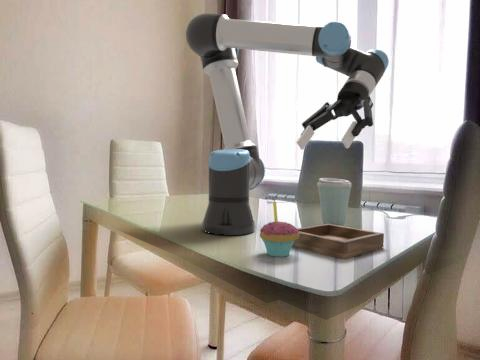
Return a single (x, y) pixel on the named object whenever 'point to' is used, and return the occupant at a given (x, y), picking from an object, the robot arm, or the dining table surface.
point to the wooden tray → (338, 240)
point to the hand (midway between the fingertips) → (321, 145)
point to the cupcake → (278, 236)
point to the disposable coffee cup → (334, 200)
